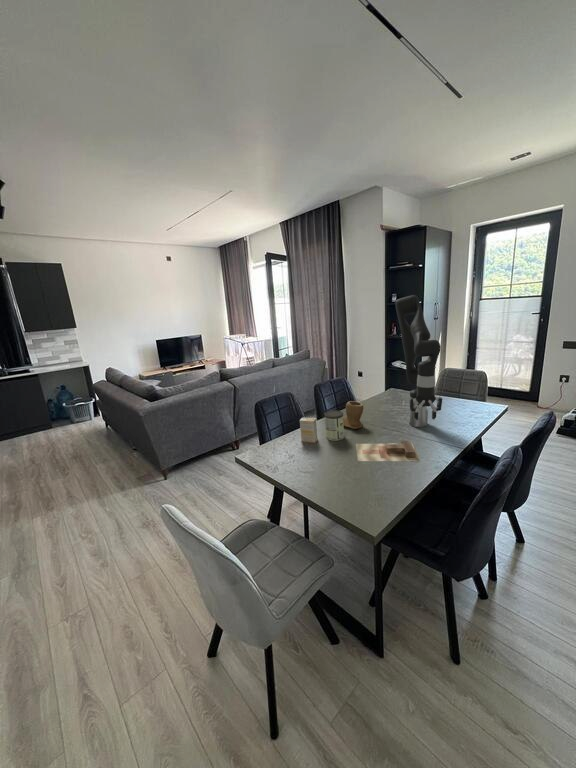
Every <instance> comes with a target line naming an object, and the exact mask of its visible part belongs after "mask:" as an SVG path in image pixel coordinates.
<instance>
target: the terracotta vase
mask: <svg viewBox="0 0 576 768" xmlns="http://www.w3.org/2000/svg"><path fill="white" fill-rule="evenodd" d="M363 412H364V404H363V403H362V402H358V401H354V400H353V401H352V400H350V401H347V402H346V404H345V413H346V417H343V425H344V427H347V428H350V429H354V430H355V429H356V430H358V429H360V428H363V426H364V423H362V422H361V418H362V415H363Z"/></svg>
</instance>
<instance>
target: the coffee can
mask: <svg viewBox="0 0 576 768" xmlns="http://www.w3.org/2000/svg"><path fill="white" fill-rule="evenodd" d="M343 418H344V412H343V411H340V410H328V411H325V413H324V423H325V424H324V425H325V438H326V440H329V441H333V442H335V441H336V442H337V441H341V440H343V439H344V438H345V429H344V427H345V426H344V425H343Z"/></svg>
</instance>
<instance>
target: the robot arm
mask: <svg viewBox="0 0 576 768" xmlns="http://www.w3.org/2000/svg"><path fill="white" fill-rule="evenodd" d="M395 310H396V311H395V312H396V314H397V319H398V324H399V330H400V334H401V343H402V348H403V354H404V361H405V373H406V374H405V375H406V380H407V383H408V384H410V385H414V386H415V385H416V389H412V390H410V392H409V399H408V400H409V415H408V416H409V418H408V419H409V422H408V424H409V425H410V426H411V427H415V428H423V427H427V426H428V423H429V422H428V419H429V418H428V415H429V411H428V407H430V408H431V419H432V420H435V419H437V412H438V411H442V404H443V398H442V397H441V396H436V383H437V382H436V366H437V365H436V364H437V361H438V359H439V355H440V353H441V343H440V342H439V340H437V339H431V333H430V330H429V328H428V326H427V324H426V320H425V317H424V312H423V309H422V305H421V302H420V300H419V297H418V296H417V295H416V294H411V295H408V296H405V297H401V298H398V299H396V300H395ZM410 315H414V317H413V319H412V322H411V324H409V323H408V321H407V320H406V317H407V316H410ZM418 357H419V358H422V357H424V358H425V357H428V358H427V359H426V360H423V361H420V362H418V365H417V368H416V367H415V362H416V360H417V358H418ZM435 402H436V406H435V405H434V404H433V403H435Z"/></svg>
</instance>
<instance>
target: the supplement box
mask: <svg viewBox="0 0 576 768" xmlns="http://www.w3.org/2000/svg"><path fill="white" fill-rule="evenodd" d="M299 428H300V439H301V442H302V443H309V444H316V442H318V439H319V438H318V429H317V419H316V418H315V417H301V418H300V419H299Z"/></svg>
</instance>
